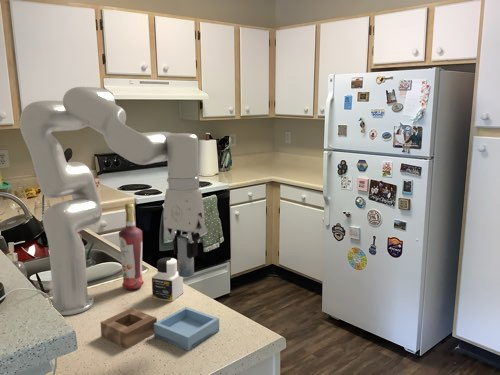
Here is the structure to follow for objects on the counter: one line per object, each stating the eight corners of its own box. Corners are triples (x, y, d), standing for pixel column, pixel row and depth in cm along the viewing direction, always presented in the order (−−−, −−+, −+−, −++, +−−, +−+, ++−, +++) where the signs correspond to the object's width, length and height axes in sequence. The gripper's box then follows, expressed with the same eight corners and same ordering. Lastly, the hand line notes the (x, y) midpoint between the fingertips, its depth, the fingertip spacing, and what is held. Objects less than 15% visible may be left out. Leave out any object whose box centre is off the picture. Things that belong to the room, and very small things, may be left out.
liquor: (149, 286, 146) (145, 203, 141) (130, 293, 141) (126, 207, 136) (135, 281, 151) (132, 200, 146) (117, 287, 146) (112, 204, 140)
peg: (174, 274, 113) (173, 237, 111) (185, 270, 116) (184, 233, 115) (186, 278, 111) (185, 239, 109) (197, 273, 114) (196, 235, 112)
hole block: (101, 336, 115) (100, 322, 114) (131, 321, 123) (131, 308, 122) (127, 348, 109) (126, 333, 109) (157, 331, 117) (156, 317, 117)
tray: (154, 336, 115) (153, 323, 115) (185, 318, 125) (185, 306, 124) (188, 350, 108) (188, 337, 108) (219, 330, 118) (219, 318, 118)
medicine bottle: (152, 298, 138) (150, 261, 135) (164, 289, 144) (162, 254, 142) (172, 302, 135) (171, 264, 133) (183, 292, 142) (182, 257, 140)
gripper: (148, 182, 111) (151, 252, 114) (199, 189, 102) (201, 266, 105) (170, 178, 117) (172, 245, 120) (219, 185, 108) (220, 257, 111)
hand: (185, 254), depth 113 cm, fingers closed on peg, 4 cm apart
